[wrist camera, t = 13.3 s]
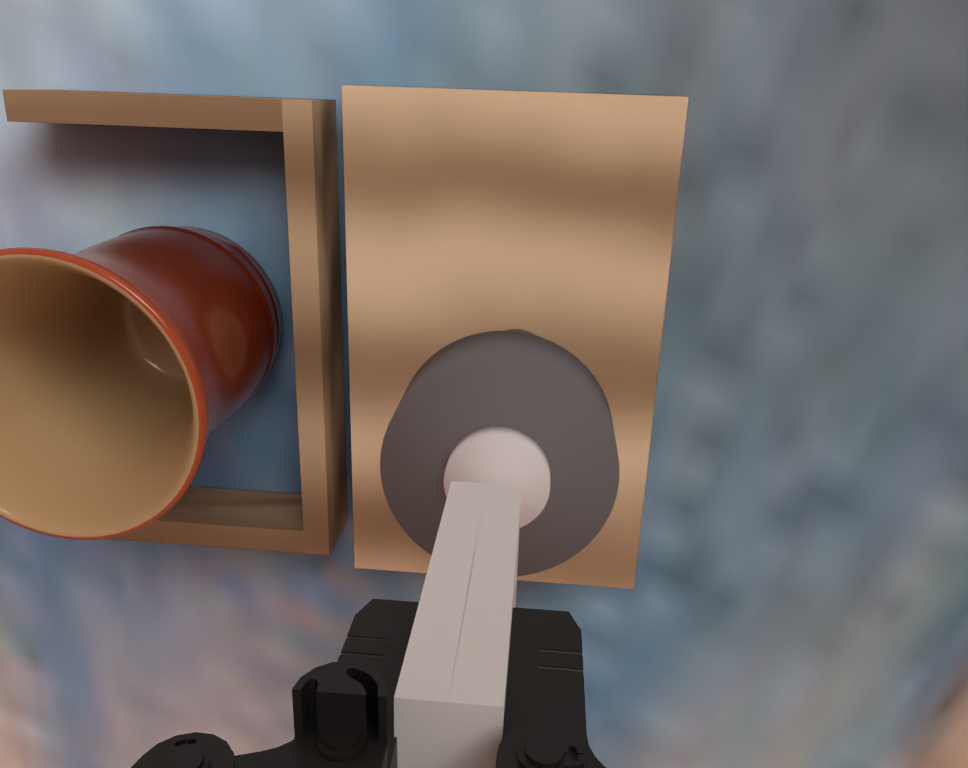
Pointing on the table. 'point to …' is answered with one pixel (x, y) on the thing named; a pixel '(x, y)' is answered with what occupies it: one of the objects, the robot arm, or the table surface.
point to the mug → (123, 373)
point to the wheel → (505, 442)
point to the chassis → (439, 279)
